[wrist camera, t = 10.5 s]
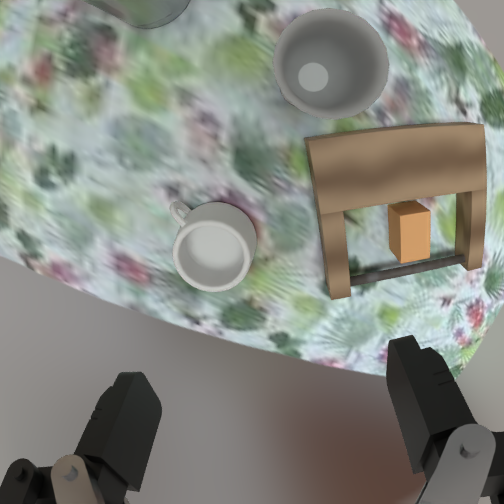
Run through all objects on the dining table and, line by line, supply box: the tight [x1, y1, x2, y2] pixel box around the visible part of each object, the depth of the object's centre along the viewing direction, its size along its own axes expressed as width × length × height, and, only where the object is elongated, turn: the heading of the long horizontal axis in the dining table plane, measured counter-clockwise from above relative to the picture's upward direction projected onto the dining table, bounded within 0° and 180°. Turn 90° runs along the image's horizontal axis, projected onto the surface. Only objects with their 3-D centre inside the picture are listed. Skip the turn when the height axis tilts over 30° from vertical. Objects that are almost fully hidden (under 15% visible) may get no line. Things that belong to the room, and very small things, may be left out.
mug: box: [170, 201, 257, 292], centre depth 37 cm, size 12×10×6 cm
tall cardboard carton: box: [387, 200, 430, 263], centre depth 36 cm, size 6×4×4 cm, turn 12°
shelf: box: [304, 122, 487, 300], centre depth 35 cm, size 19×22×4 cm
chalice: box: [273, 8, 389, 120], centre depth 24 cm, size 7×7×18 cm
